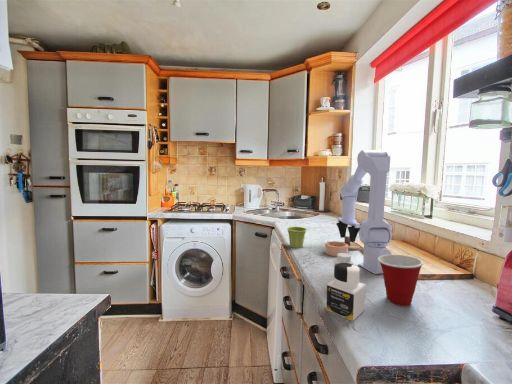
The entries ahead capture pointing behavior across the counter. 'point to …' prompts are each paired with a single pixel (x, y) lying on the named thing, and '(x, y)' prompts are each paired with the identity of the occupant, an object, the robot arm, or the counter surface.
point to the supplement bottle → (343, 258)
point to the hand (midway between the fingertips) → (347, 239)
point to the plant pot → (296, 236)
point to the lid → (351, 244)
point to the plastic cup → (400, 277)
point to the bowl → (336, 248)
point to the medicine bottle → (346, 292)
